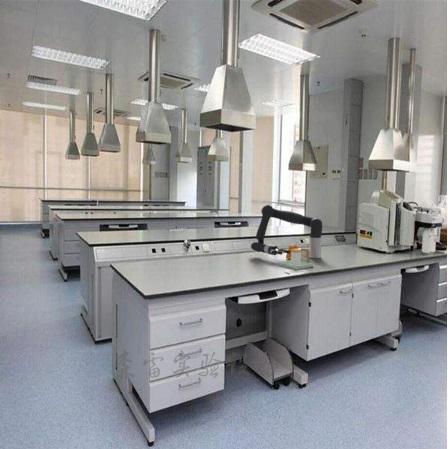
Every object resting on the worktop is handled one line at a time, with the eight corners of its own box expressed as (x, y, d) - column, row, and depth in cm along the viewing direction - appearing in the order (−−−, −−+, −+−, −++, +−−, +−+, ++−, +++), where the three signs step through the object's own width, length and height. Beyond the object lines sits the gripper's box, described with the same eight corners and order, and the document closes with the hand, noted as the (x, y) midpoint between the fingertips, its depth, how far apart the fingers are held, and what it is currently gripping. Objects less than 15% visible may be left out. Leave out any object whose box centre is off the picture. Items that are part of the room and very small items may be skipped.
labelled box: (295, 264, 277) (295, 248, 276) (300, 265, 273) (300, 249, 272) (290, 265, 274) (291, 249, 273) (295, 266, 270) (296, 250, 269)
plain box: (304, 263, 288) (305, 247, 286) (309, 264, 284) (310, 248, 283) (300, 263, 285) (300, 248, 284) (305, 264, 281) (305, 249, 280)
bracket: (291, 260, 296) (291, 246, 295) (285, 259, 302) (286, 244, 301) (301, 259, 301) (302, 245, 299) (296, 258, 307) (296, 244, 306)
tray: (294, 263, 286) (294, 259, 286) (312, 267, 272) (313, 263, 271) (278, 265, 275) (278, 261, 275) (296, 270, 261) (296, 266, 261)
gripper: (264, 245, 289) (279, 248, 276) (277, 244, 297) (292, 247, 284) (264, 255, 289) (279, 258, 277) (277, 253, 298) (292, 256, 285)
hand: (286, 252), depth 281 cm, fingers open, 8 cm apart
